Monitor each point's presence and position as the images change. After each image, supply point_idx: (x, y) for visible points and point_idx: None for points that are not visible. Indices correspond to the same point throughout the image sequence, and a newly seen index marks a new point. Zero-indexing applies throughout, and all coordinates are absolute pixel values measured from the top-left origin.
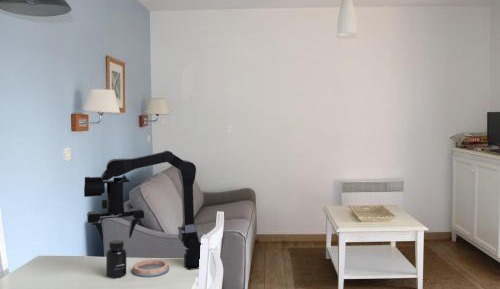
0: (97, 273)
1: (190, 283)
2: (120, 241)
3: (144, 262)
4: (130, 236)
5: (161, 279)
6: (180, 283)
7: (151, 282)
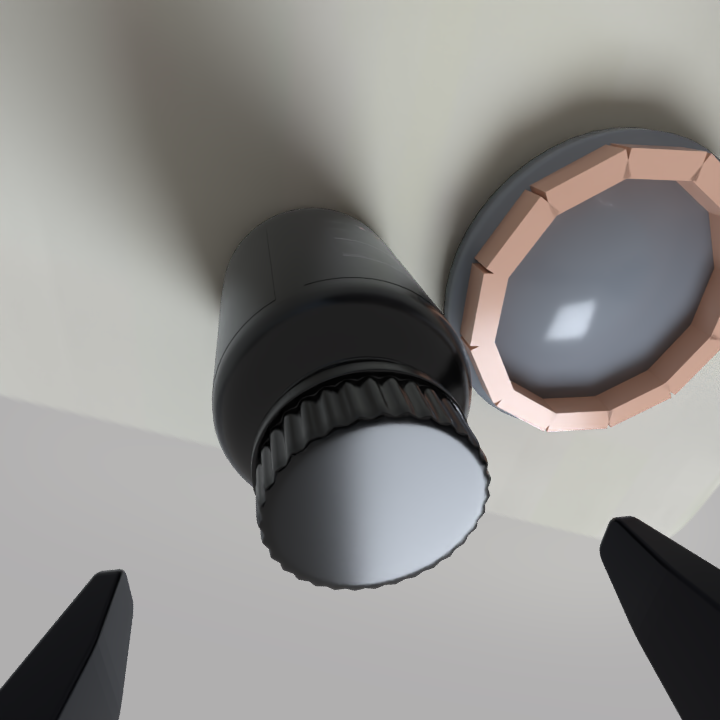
0: (131, 166)
1: None
2: (444, 505)
3: (612, 179)
4: (628, 585)
5: (568, 460)
6: None
7: (499, 487)
